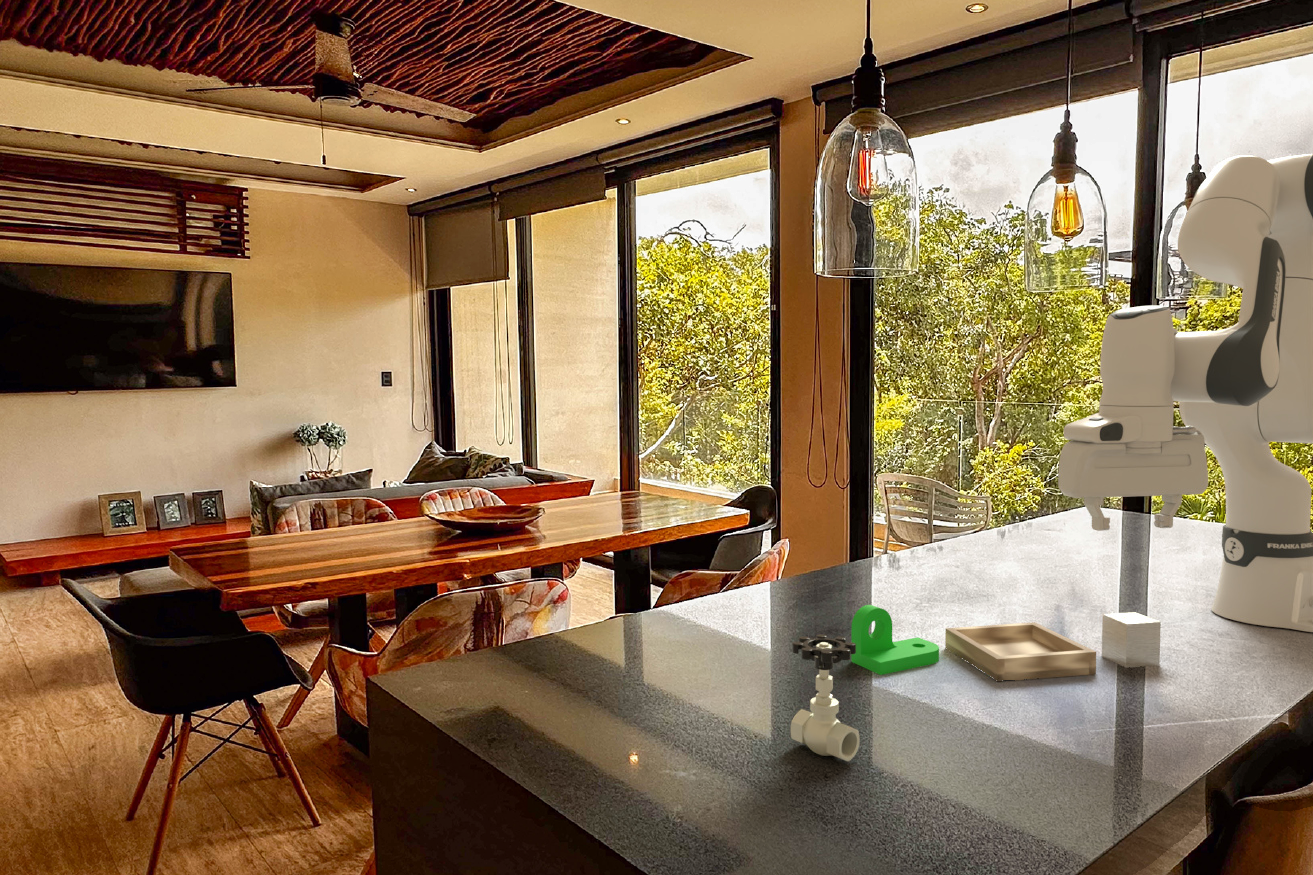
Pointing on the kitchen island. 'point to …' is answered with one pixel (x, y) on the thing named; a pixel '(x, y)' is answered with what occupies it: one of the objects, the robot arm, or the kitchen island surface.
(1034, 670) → the tray
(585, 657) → the kitchen island surface
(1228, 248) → the robot arm
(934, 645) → the mechanical part
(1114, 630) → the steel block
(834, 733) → the valve
